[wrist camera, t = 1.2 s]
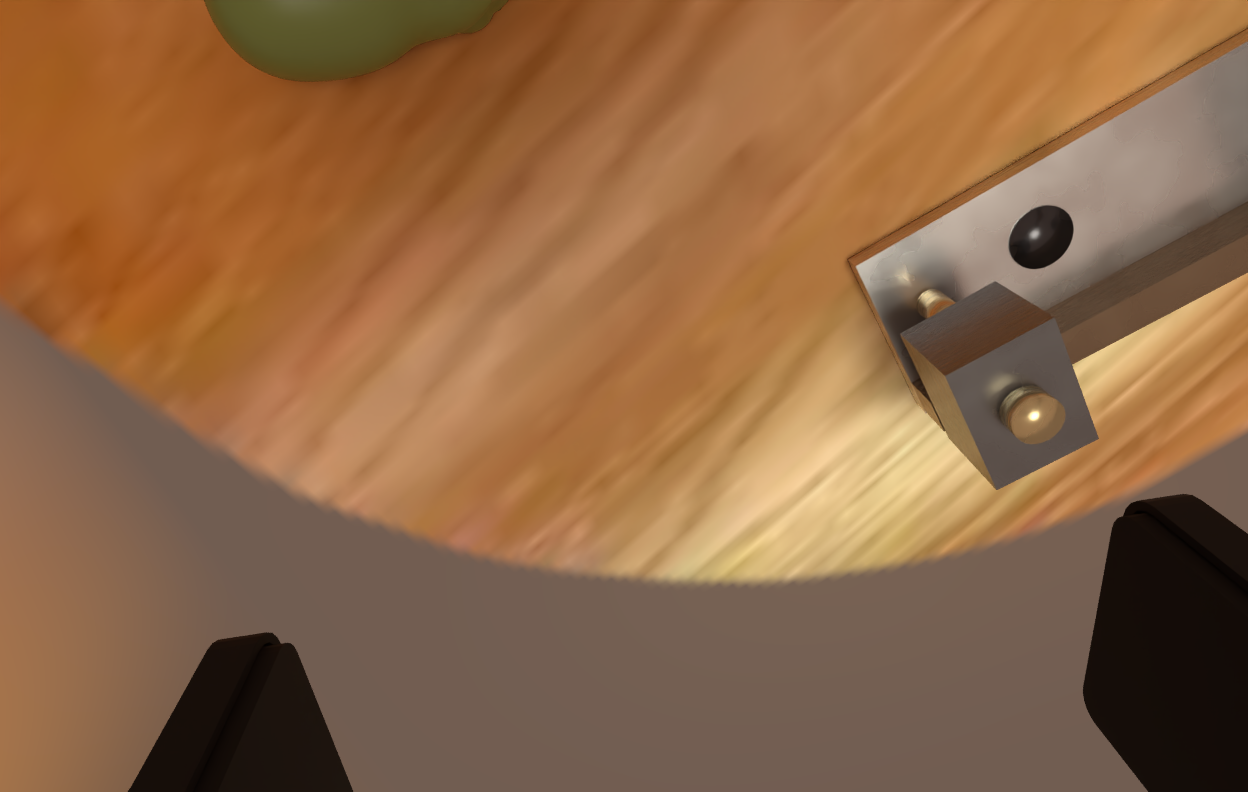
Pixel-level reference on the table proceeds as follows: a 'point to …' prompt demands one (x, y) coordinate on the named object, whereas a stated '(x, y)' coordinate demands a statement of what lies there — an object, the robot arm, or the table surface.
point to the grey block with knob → (999, 381)
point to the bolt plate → (1091, 218)
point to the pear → (339, 32)
